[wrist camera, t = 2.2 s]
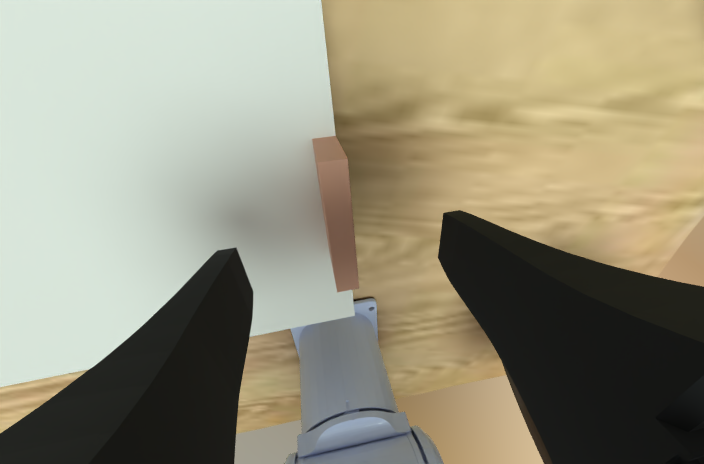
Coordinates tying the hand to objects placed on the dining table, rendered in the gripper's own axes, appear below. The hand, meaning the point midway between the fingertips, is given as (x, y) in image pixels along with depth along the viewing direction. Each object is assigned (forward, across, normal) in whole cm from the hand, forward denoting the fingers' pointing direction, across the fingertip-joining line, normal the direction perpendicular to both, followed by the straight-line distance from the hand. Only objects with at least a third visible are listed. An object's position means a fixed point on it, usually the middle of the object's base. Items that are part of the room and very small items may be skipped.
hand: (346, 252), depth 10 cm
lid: (+5, +10, 0) cm, 11 cm away
